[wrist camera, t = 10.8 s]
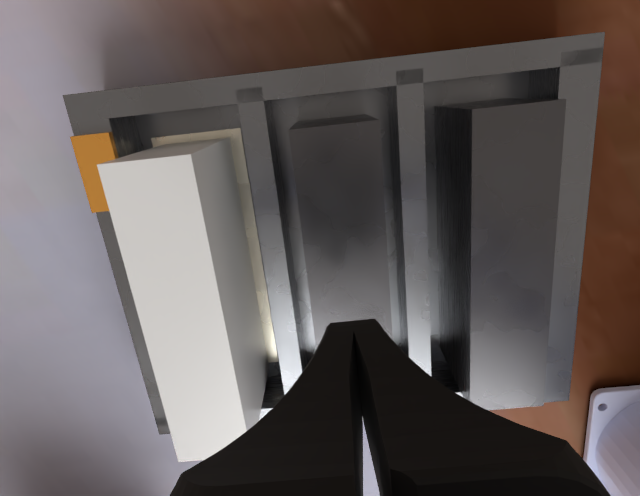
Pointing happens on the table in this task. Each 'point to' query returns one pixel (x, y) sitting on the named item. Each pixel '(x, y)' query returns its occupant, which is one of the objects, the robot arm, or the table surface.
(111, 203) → the white rectangular block
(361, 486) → the robot arm
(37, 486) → the table surface
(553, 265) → the rack
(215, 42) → the table surface
